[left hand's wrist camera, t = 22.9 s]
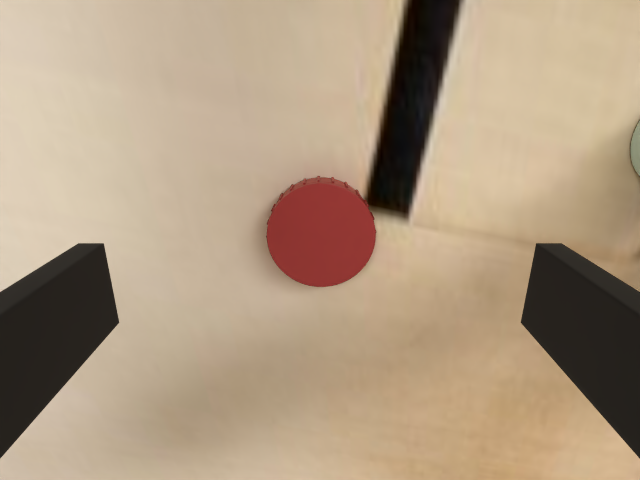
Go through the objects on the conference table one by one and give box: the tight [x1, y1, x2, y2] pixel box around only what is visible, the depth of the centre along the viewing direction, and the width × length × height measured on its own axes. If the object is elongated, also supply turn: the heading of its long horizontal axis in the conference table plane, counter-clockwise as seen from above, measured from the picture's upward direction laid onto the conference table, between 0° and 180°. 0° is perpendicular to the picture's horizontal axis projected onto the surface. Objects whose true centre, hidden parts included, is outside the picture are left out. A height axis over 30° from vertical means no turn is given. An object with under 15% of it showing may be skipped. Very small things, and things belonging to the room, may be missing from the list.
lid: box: [266, 176, 376, 287], centre depth 21 cm, size 5×5×2 cm
